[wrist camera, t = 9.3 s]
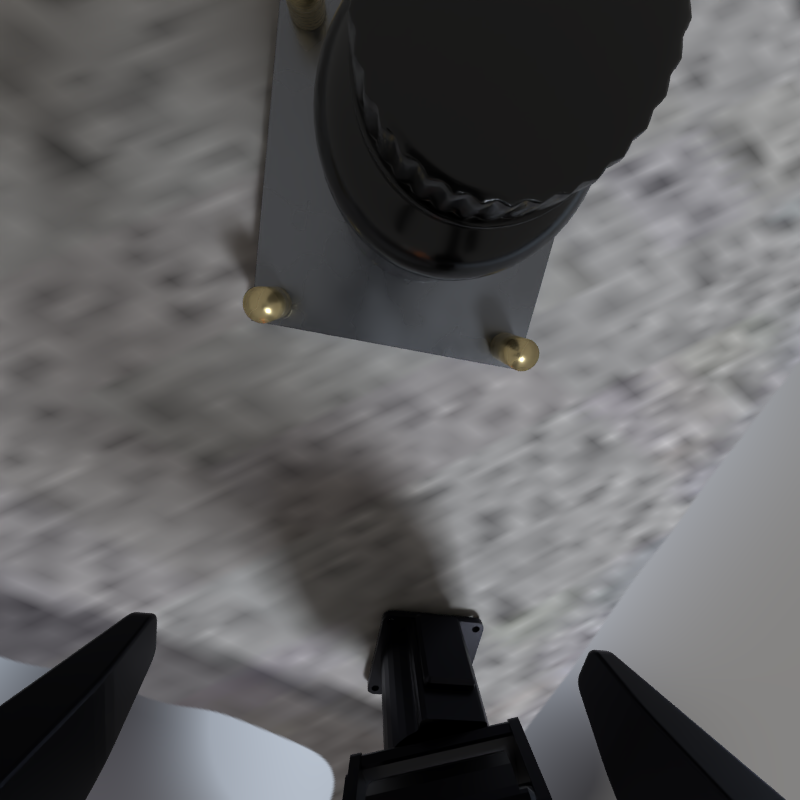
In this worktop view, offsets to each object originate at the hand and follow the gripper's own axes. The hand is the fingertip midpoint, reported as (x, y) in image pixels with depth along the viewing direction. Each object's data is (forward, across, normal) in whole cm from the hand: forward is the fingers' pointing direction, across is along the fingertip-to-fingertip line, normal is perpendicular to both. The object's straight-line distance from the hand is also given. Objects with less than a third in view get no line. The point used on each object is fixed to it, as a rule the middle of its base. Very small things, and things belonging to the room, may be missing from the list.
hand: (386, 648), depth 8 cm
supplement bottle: (+12, 0, -11) cm, 16 cm away
